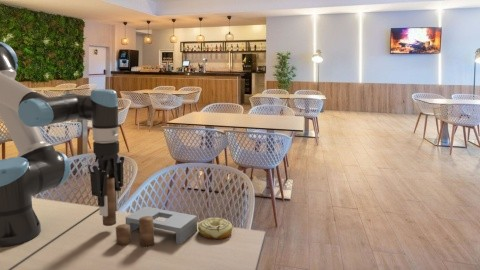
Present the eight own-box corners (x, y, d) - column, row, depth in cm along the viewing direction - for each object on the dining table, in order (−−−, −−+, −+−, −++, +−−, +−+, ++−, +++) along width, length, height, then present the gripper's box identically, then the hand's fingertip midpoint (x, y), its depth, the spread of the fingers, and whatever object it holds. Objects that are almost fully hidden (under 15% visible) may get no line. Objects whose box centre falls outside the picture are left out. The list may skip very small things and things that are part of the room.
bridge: (126, 232, 119) (125, 217, 118) (145, 220, 128) (145, 206, 127) (180, 244, 111) (180, 228, 110) (197, 230, 120) (196, 215, 119)
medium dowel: (137, 245, 110) (136, 220, 108) (145, 240, 114) (144, 215, 112) (148, 248, 108) (147, 222, 107) (156, 242, 112) (155, 217, 111)
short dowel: (113, 244, 111) (112, 228, 110) (122, 238, 114) (121, 223, 114) (124, 246, 109) (123, 230, 108) (133, 241, 113) (132, 225, 112)
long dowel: (100, 224, 118) (98, 179, 116) (109, 219, 122) (107, 175, 119) (110, 226, 117) (108, 180, 114) (118, 222, 121) (117, 177, 118)
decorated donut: (218, 244, 112) (218, 232, 111) (191, 235, 118) (191, 223, 117) (238, 231, 120) (238, 220, 119) (212, 223, 126) (212, 213, 125)
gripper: (95, 147, 105) (98, 225, 110) (134, 137, 121) (135, 205, 125) (74, 144, 108) (79, 220, 113) (115, 134, 123) (117, 201, 128)
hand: (109, 212), depth 119 cm, fingers closed on long dowel, 4 cm apart
